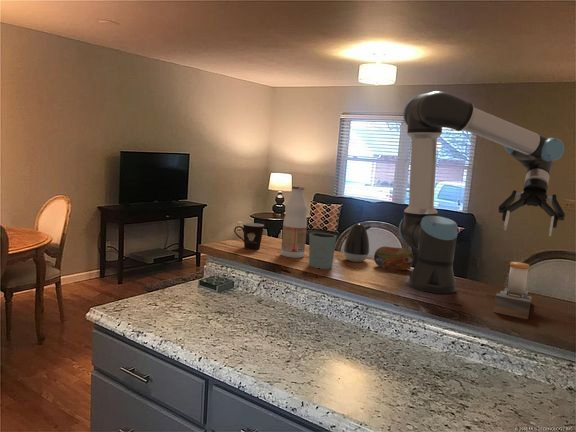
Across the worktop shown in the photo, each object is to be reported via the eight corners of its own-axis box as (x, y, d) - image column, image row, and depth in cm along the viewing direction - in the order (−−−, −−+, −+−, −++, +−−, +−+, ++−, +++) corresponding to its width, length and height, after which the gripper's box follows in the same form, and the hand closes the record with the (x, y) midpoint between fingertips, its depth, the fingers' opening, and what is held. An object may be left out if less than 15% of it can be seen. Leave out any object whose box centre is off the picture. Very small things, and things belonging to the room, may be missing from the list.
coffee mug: (266, 248, 202) (268, 225, 201) (254, 251, 195) (256, 227, 194) (244, 244, 208) (245, 221, 207) (231, 246, 201) (233, 222, 200)
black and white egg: (373, 263, 191) (377, 225, 189) (350, 263, 187) (354, 225, 185) (360, 257, 200) (364, 221, 198) (338, 257, 196) (341, 221, 194)
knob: (506, 292, 153) (511, 260, 152) (525, 296, 151) (530, 263, 149) (504, 296, 148) (509, 263, 147) (524, 300, 146) (529, 266, 145)
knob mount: (500, 296, 156) (502, 280, 156) (530, 302, 152) (533, 286, 151) (493, 312, 139) (496, 294, 138) (527, 319, 135) (530, 300, 134)
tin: (373, 267, 185) (375, 245, 184) (372, 265, 188) (375, 244, 187) (412, 271, 183) (415, 249, 182) (412, 269, 186) (414, 248, 185)
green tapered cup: (318, 270, 171) (321, 237, 170) (301, 264, 179) (303, 232, 178) (339, 268, 177) (342, 236, 176) (321, 262, 185) (324, 231, 184)
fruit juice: (280, 257, 188) (285, 186, 185) (281, 252, 198) (287, 184, 194) (303, 259, 188) (310, 188, 184) (304, 254, 197) (310, 186, 194)
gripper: (575, 195, 167) (568, 243, 156) (498, 188, 179) (487, 231, 168) (578, 180, 162) (571, 229, 151) (498, 174, 174) (487, 218, 163)
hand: (527, 230), depth 159 cm, fingers open, 13 cm apart
